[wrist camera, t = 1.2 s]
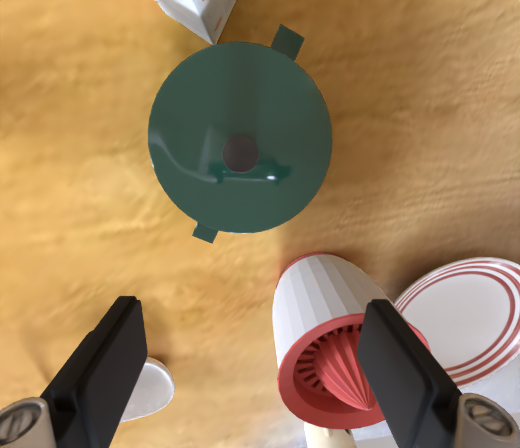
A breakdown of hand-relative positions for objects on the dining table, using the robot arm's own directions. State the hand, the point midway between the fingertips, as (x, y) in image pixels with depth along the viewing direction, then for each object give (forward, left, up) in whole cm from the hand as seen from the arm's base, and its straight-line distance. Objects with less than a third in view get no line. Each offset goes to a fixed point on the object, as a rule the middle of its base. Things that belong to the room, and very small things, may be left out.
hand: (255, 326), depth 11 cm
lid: (-3, +5, -18) cm, 19 cm away
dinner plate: (+41, -7, -27) cm, 50 cm away
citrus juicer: (+17, -10, -27) cm, 34 cm away
